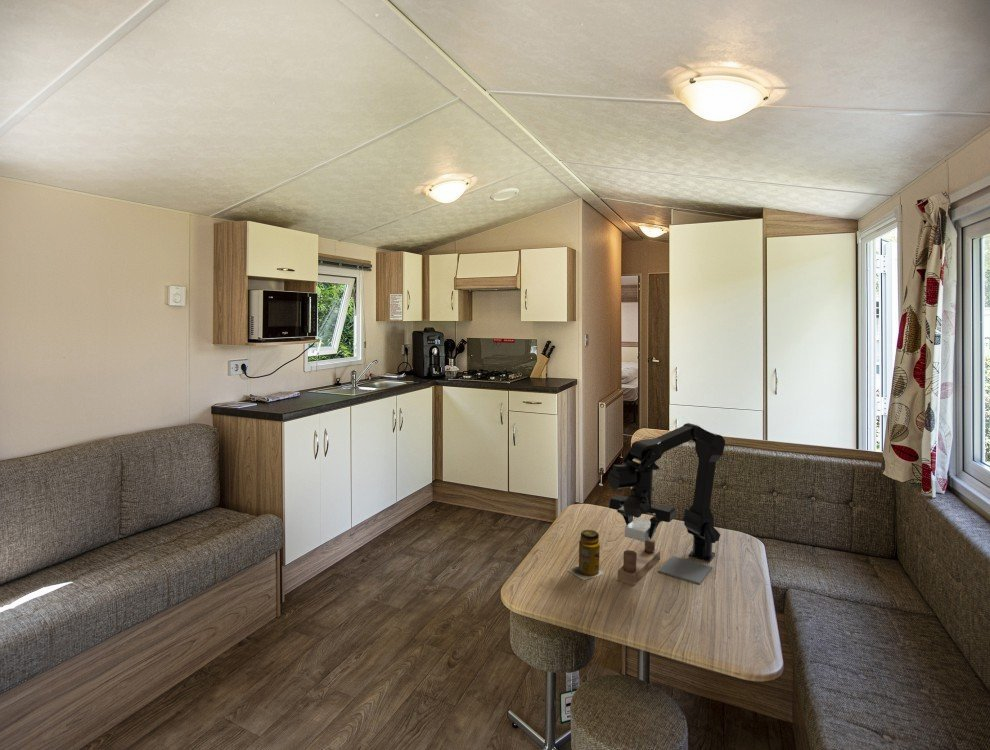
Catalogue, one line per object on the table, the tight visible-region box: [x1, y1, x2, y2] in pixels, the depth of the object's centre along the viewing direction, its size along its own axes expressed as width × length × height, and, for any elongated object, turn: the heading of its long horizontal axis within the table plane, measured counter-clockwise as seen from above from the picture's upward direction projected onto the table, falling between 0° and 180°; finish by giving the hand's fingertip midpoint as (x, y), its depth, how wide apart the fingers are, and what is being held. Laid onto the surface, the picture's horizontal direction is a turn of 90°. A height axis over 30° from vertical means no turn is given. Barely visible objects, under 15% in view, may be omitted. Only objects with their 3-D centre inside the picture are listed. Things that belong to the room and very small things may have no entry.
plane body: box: [617, 538, 661, 586], centre depth 159 cm, size 20×5×8 cm, turn 142°
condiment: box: [567, 529, 606, 581], centre depth 157 cm, size 7×8×12 cm
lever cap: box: [624, 517, 657, 543], centre depth 157 cm, size 9×6×3 cm, turn 142°
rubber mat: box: [658, 555, 713, 585], centre depth 159 cm, size 12×12×1 cm
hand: (640, 535), depth 158 cm, fingers closed on lever cap, 6 cm apart
